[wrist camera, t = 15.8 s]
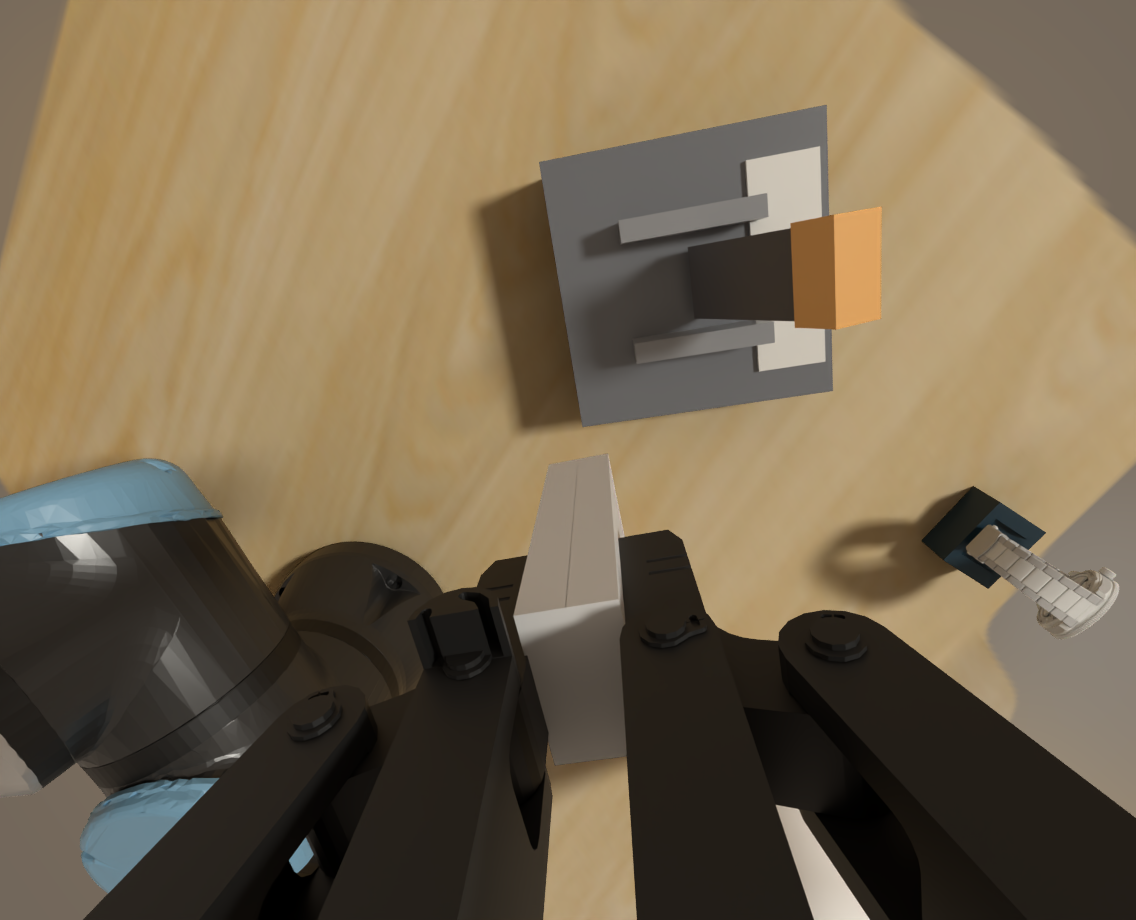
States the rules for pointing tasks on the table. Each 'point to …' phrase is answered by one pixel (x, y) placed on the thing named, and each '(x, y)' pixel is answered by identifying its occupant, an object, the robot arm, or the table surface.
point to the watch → (1019, 563)
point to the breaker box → (682, 265)
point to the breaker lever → (794, 273)
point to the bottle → (818, 872)
